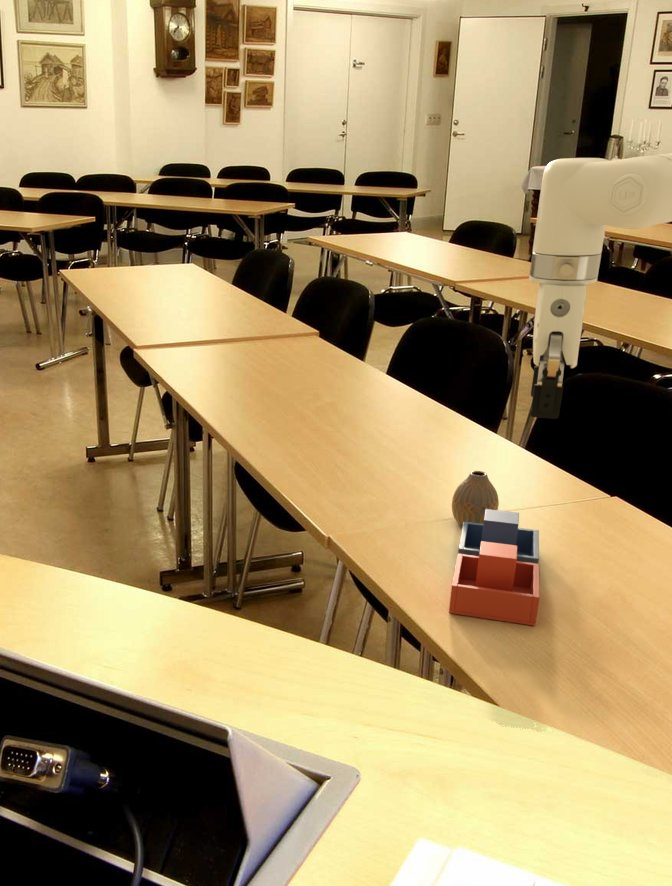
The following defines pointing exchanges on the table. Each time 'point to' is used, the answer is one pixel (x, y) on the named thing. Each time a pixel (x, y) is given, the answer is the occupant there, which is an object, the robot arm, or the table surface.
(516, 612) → the red bin
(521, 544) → the blue bin
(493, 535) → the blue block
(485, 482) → the vase
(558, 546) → the table surface
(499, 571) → the red block
